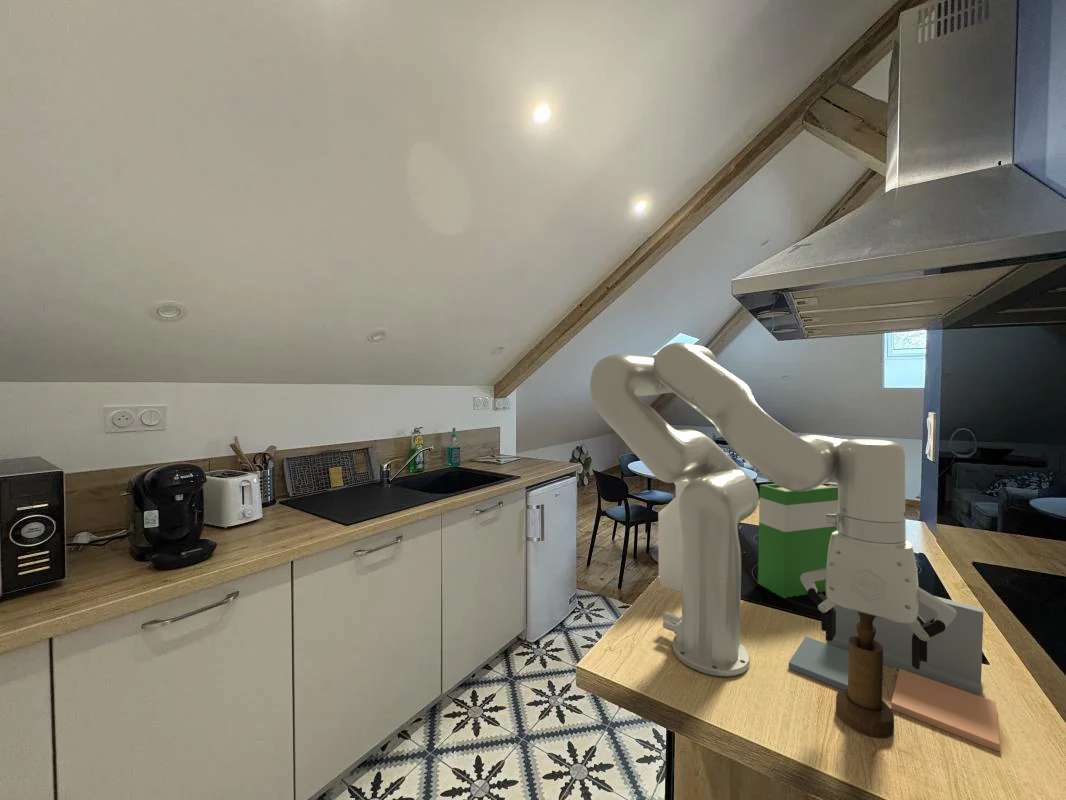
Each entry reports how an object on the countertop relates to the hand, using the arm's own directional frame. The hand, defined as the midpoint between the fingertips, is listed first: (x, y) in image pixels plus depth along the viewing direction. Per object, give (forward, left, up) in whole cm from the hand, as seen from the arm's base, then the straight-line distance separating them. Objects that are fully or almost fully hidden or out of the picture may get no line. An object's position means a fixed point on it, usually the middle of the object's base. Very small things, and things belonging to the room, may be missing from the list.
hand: (871, 650), depth 63 cm
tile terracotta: (+7, +11, -10) cm, 17 cm away
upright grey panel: (+1, +21, -10) cm, 23 cm away
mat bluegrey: (-6, +11, -10) cm, 16 cm away
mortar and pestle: (-1, 0, -11) cm, 11 cm away
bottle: (-40, +25, -11) cm, 48 cm away
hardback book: (-19, +42, -11) cm, 47 cm away
